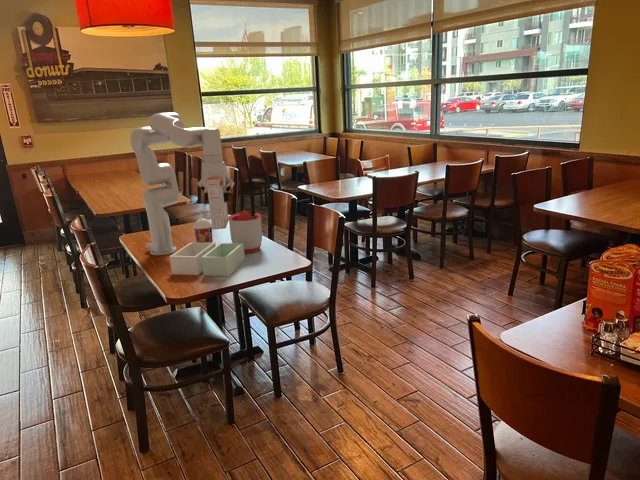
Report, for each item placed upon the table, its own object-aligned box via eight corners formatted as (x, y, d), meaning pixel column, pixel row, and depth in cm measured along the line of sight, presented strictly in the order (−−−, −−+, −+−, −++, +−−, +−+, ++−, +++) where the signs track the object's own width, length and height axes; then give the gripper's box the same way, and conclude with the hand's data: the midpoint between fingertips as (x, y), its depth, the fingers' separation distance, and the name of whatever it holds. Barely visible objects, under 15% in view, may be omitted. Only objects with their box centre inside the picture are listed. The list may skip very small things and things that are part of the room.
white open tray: (172, 274, 199) (169, 256, 196) (193, 258, 218) (190, 242, 215) (198, 275, 196) (195, 257, 194) (217, 259, 215) (215, 242, 213)
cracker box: (215, 221, 205) (209, 174, 199) (229, 220, 206) (224, 173, 200) (211, 229, 192) (205, 179, 186) (225, 228, 192) (220, 178, 186)
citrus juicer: (270, 244, 233) (267, 205, 227) (256, 256, 217) (252, 214, 211) (241, 243, 237) (237, 205, 232) (225, 254, 221) (221, 213, 216)
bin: (203, 275, 196) (201, 257, 194) (222, 259, 215) (220, 242, 212) (228, 275, 194) (226, 257, 191) (244, 259, 213) (243, 243, 210)
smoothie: (218, 251, 226) (214, 211, 221) (207, 256, 219) (202, 215, 213) (204, 249, 230) (199, 210, 224) (193, 255, 223) (188, 214, 217)
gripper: (189, 160, 189) (194, 203, 194) (229, 159, 185) (234, 203, 191) (197, 158, 196) (202, 199, 201) (236, 157, 192) (240, 199, 198)
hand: (217, 201), depth 196 cm, fingers closed on cracker box, 6 cm apart
